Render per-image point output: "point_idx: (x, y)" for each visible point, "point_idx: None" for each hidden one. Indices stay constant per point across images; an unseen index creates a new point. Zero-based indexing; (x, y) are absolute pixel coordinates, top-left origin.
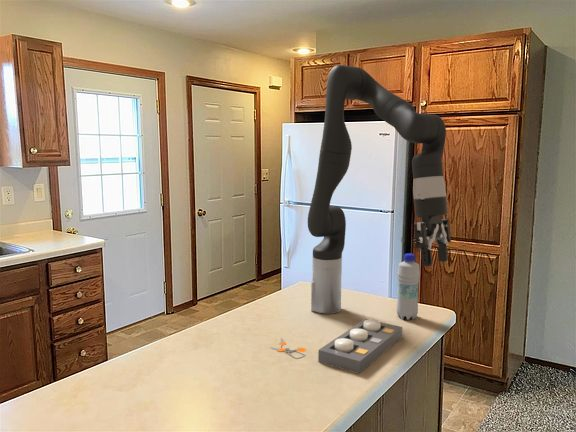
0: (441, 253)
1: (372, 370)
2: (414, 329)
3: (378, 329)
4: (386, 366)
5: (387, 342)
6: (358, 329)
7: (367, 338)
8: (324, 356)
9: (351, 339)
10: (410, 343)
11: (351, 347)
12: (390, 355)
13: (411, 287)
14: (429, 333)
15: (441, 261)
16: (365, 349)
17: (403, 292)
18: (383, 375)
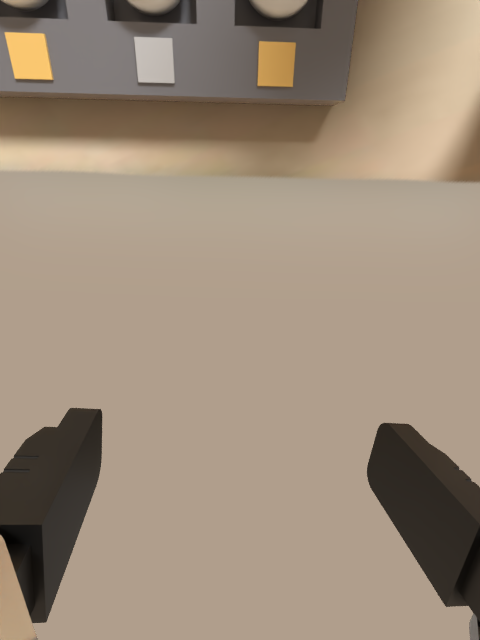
0: (413, 496)
1: (39, 124)
2: (426, 118)
3: (269, 14)
4: (94, 151)
5: (202, 98)
6: None
7: (160, 12)
8: None
9: None
10: (296, 152)
11: (6, 1)
12: (172, 130)
13: None
14: (407, 179)
15: (375, 439)
16: (58, 60)
17: None
18: (38, 168)
